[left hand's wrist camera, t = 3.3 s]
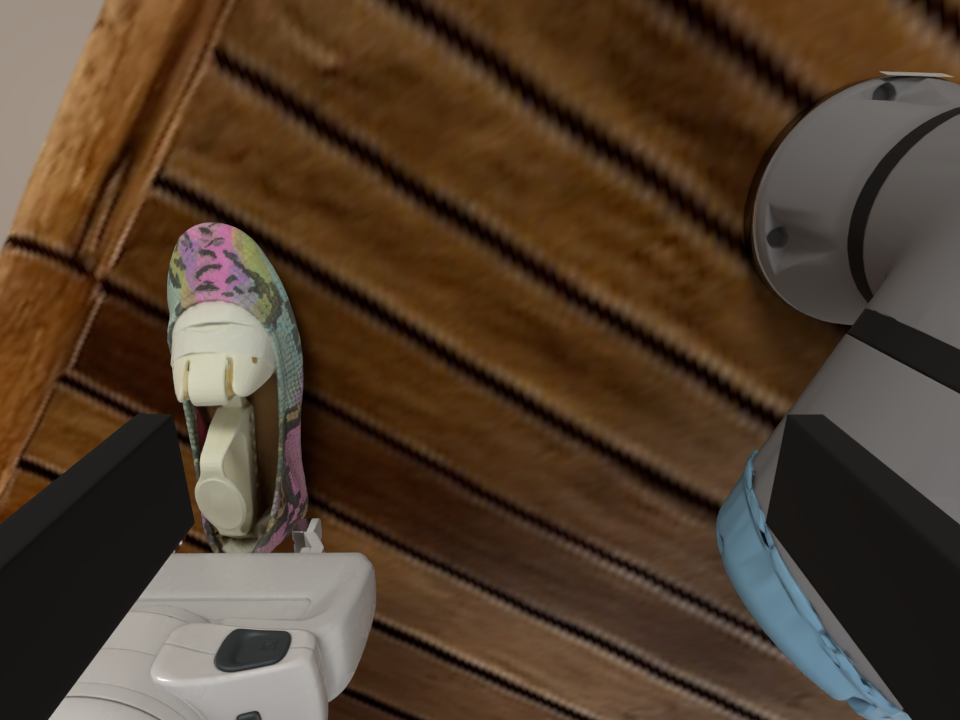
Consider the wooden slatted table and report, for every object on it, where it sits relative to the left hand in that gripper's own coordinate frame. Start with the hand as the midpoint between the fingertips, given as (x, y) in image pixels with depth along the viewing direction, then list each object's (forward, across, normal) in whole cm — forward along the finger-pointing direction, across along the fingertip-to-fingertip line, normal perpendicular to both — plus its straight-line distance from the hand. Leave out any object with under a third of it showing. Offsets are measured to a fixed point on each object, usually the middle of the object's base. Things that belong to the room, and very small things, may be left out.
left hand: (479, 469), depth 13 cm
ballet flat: (+29, -16, -10) cm, 35 cm away
